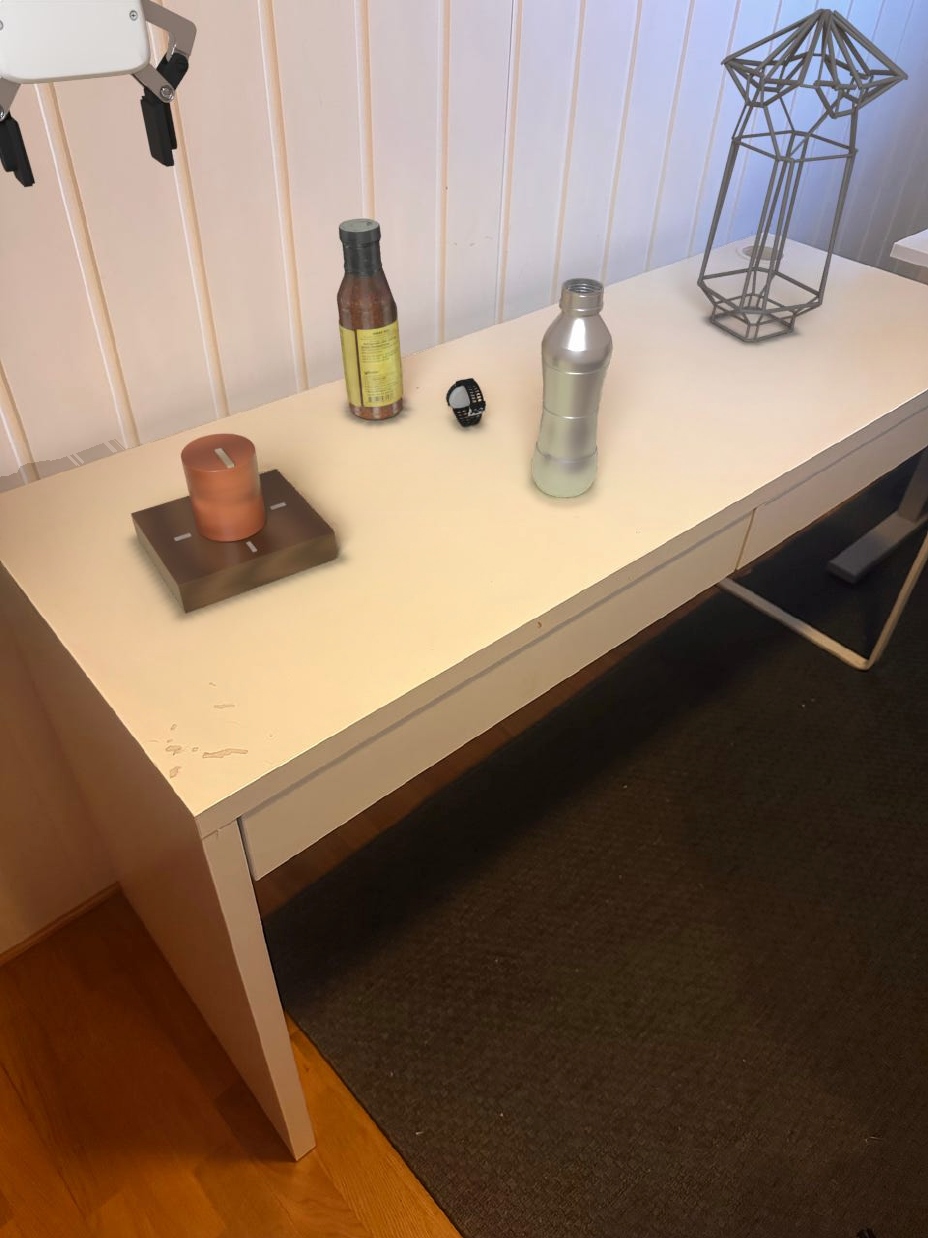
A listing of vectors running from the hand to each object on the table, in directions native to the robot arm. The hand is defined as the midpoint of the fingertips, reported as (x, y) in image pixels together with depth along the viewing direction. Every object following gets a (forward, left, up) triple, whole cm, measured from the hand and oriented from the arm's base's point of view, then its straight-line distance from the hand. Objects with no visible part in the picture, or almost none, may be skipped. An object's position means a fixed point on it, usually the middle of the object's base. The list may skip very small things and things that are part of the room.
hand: (96, 171), depth 63 cm
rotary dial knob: (+4, -6, -27) cm, 28 cm away
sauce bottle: (+24, +14, -31) cm, 41 cm away
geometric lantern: (+78, +17, -31) cm, 86 cm away
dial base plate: (+4, -6, -30) cm, 31 cm away
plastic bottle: (+36, -8, -31) cm, 48 cm away
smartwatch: (+32, +7, -31) cm, 45 cm away
